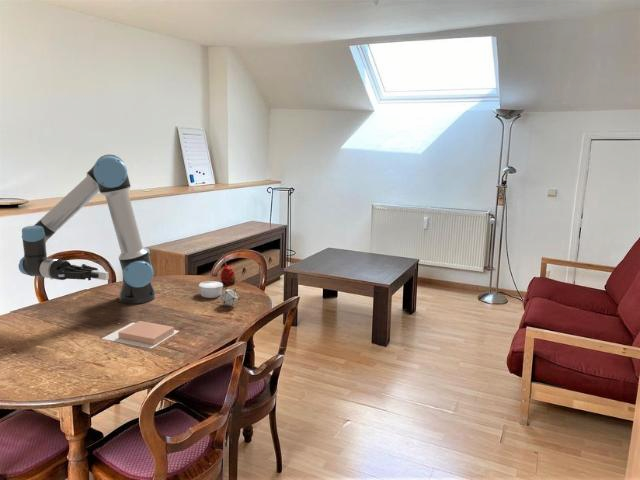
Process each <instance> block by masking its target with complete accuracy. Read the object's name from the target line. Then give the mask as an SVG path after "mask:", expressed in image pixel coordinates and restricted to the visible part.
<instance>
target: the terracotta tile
mask: <svg viewBox="0 0 640 480" xmlns="http://www.w3.org/2000/svg"><path fill="white" fill-rule="evenodd" d="M134 323H135V324H133V325H131V326H129V327H127V328H125V329H123V330H122V331H120V332H118V336H119V338H122V339H127V340H132V341H137V342H142V343H147V344H152V345H155V344H156V343H158V342H160V341H161V340H163V339H164V338H166V337H168V336H169V335H171V334H173V333H174V330H175V327H174V326H170V325H165V324H159V323H155V322H149V321H142V320H139V321H137V322H134Z"/></svg>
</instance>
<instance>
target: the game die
mask: <svg viewBox="0 0 640 480" xmlns="http://www.w3.org/2000/svg"><path fill="white" fill-rule="evenodd" d="M236 291H237V288H235V289H229V288H227V287H225V289H224V290H223V291H222V293H221V295H220V296H219V295H218V297H219V298H220V300H221V302H222V307H224V306H229V307H231V308H232V309H233V308H234V304H236V303H237V301H240V300H241V298H239V297H238V294H237V292H236ZM218 297H217V298H218Z"/></svg>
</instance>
